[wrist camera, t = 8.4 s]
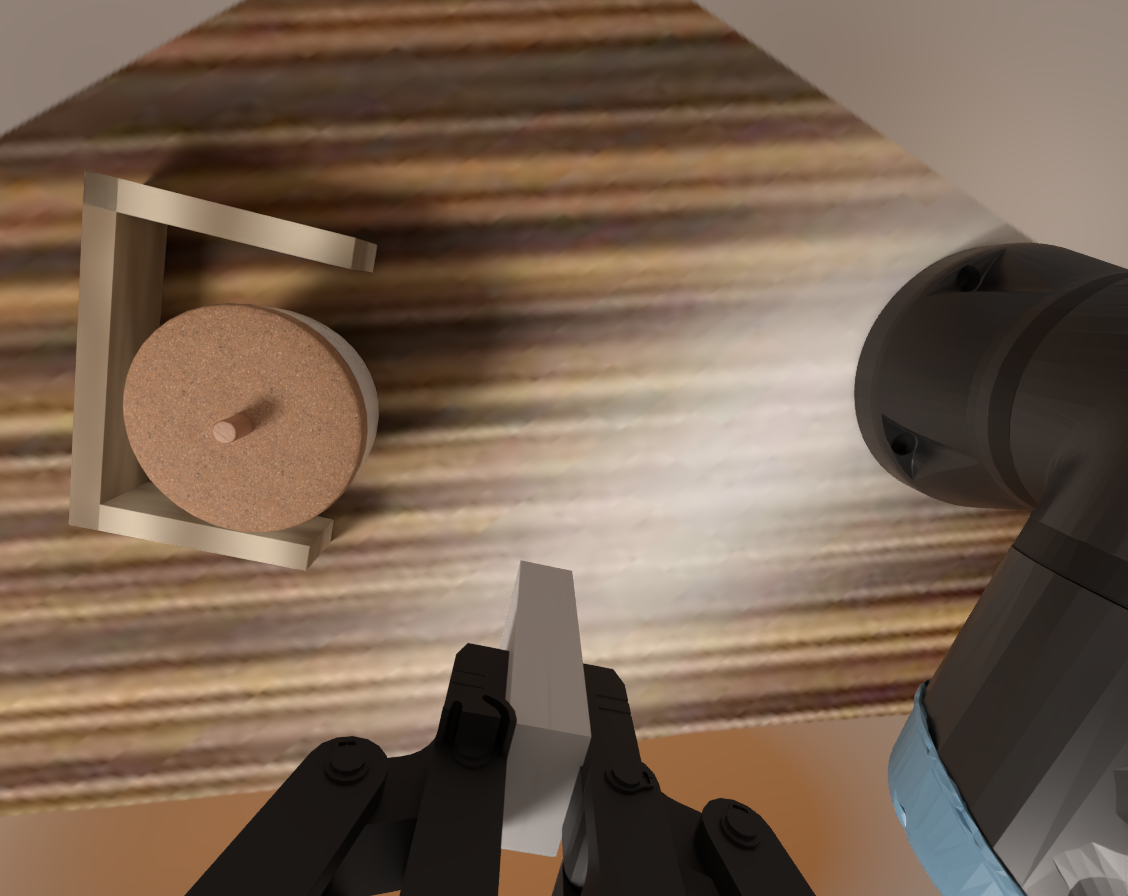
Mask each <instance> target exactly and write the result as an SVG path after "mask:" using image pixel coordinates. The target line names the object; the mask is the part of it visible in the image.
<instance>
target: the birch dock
mask: <svg viewBox="0 0 1128 896" xmlns="http://www.w3.org/2000/svg"><path fill="white" fill-rule="evenodd" d="M168 225H172V226H176V227H180V228H184V229H189V230H193V231H197V232H201V233H205V234H209V235H213V236H217V237H221V238H225V239H229V240H233V241H237V242H242V243H246V244H250V245H254V246H258V247H262V248H266V249H270V250H274V251H278V252H282V253H286V254H290V255H295V256H299V257H303V258H307V259H311V260H315V261H319V262H323V263H327V264H331V265H335V266H339V267H343V268H348V269H352V270H359V271H366V272H372V273H373V269H374V263H375V257H376V250H377V245H376V244H373V243H370V242H367V241H364V240H360V239H357V238H354V237H350V236H346V235H342V234H338V233H334V232H330V231H326V230H322V229H318V228H314V227H310V226H306V225H302V224H298V223H294V222H290V221H286V220H282V219H278V218H274V217H270V216H266V215H262V214H258V213H254V212H250V211H246V210H242V209H238V208H234V207H230V206H226V205H222V204H218V203H214V202H210V201H206V200H202V199H198V198H194V197H190V196H186V195H182V194H178V193H174V192H170V191H166V190H162V189H158V188H154V187H150V186H146V185H142V184H138V183H134V182H130V181H126V180H122V179H118V178H114V177H110V176H106V175H102V174H98V173H94V172H90V171H86V170H85V172H84V194H83V217H82V240H81V263H80V285H79V308H78V331H77V353H76V376H75V399H74V422H73V444H72V467H71V490H70V512H69V525H73V526H79V527H84V528H89V529H94V530H99V531H104V532H109V533H115V534H120V535H125V536H130V537H135V538H140V539H145V540H151V541H156V542H161V543H166V544H171V545H176V546H181V547H187V548H192V549H197V550H202V551H207V552H212V553H217V554H223V555H228V556H233V557H238V558H243V559H248V560H253V561H258V562H264V563H269V564H274V565H279V566H284V567H289V568H294V569H300V570H305V571H306V570H307V569H308V568H309V567H310V565H311V564H312V563H313V562H314V561H315V560H316V558H317V557H318V556H319V555H320V554H321V552H322V551H323V550H324V549H325V548H326V547H327V545H328V544H329V543H330V542H331V536H332V530H333V523H334V520H333V519H328V518H323V517H318V516H316V517H315V518H313V519H311V520H309V521H307V522H304V523H302V524H300V525H298V526H294V527H291V528H287V529H284V530H279V531H271V532H243V531H237V530H231V529H227V528H223V527H220V526H217V525H213V524H210V523H208V522H206V521H204V520H202V519H200V518H197V517H195V516H193V515H192V514H190V513H188V512H187V511H185V510H184V509H182V508H180V507H179V506H177V505H176V504H175V503H174V502H172V501H171V500H170V499H169V498H168V497H167V496H165V495H164V494H163V493H162V492H161V491H160V490H159V489H158V488H157V486H156V485H155V484H154V483H152V482H148V476H147V474H146V473H145V471H144V470H143V468H142V467H141V465H140V464H139V462H138V460H137V458H136V456H135V454H134V452H133V450H132V448H131V445H130V442H129V438H128V435H127V431H126V427H125V421H124V414H123V394H124V388H125V383H126V378H127V374H128V371H129V369H130V366H131V364H132V361H133V359H134V357H135V355H136V354H137V352H138V351H139V349H140V347H141V346H142V344H143V343H144V342H145V341H146V340H147V339H148V338H149V336H150V335H151V334H152V333H153V332H154V331H155V330H156V329H158V328H159V327H160V320H161V307H162V294H163V280H164V267H165V254H166V241H167V228H168Z"/></svg>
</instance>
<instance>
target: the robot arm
mask: <svg viewBox="0 0 1128 896" xmlns="http://www.w3.org/2000/svg"><path fill="white" fill-rule="evenodd" d="M854 398H855V410H856V416H857V421H858V424H859V428H860V431H861V434H862V436H863V439H864V441H865V443H866V445H867V447H868V448H869V450H870V452H871V453H872V455H873V456H874V457H875V459H876V460H877V461H878V462H879V464H880V465H881V466H882V467H883V468H884V469H885V470H886V471H887V472H888V473H890V474H891V475H892V476H893V477H895V478H896V479H898V480H899V481H901V482H902V483H904V484H906V485H908V486H910V487H912V488H914V489H916V490H918V491H920V492H922V493H924V494H926V495H928V496H930V497H932V498H935V499H937V500H940V501H943V502H947V503H951V504H954V505H960V506H966V507H977V508H994V509H1011V510H1028V511H1032V513H1031V515H1030V517H1029V519H1028V521H1027V522H1026V524H1025V526H1024V527H1023V529H1022V531H1021V532H1020V534H1019V536H1018V537H1017V539H1016V541H1015V542H1014V543H1013V545H1011V547H1010V549H1009V550H1008V552H1007V554H1006V555H1005V557H1004V559H1003V560H1002V562H1001V564H1000V565H999V567H998V569H997V570H996V572H995V574H994V575H993V577H992V579H991V580H990V582H989V584H988V585H987V587H986V589H985V590H984V592H983V594H982V595H981V597H980V599H979V600H978V602H977V604H976V605H975V607H974V609H973V610H972V612H971V614H970V615H969V617H968V619H967V620H966V622H965V624H964V625H963V627H962V629H961V630H960V632H959V634H958V635H957V637H956V639H955V640H954V642H953V644H952V645H951V647H950V649H949V650H948V652H947V654H946V655H945V657H944V659H943V660H942V662H941V664H940V665H939V667H938V669H937V670H936V672H935V674H934V675H933V677H932V679H929V680H927V681H926V682H925V683H923V684H921V685H920V686H919V688H918V689H917V691H916V694H915V696H914V708H913V710H912V712H911V714H910V716H909V718H908V720H907V721H906V723H905V725H904V727H903V729H902V731H901V733H900V735H899V737H898V739H897V741H896V743H895V745H894V747H893V749H892V752H891V755H890V758H889V765H888V784H889V791H890V795H891V800H892V803H893V805H894V808H895V811H896V815H897V817H898V819H899V821H900V822H901V824H902V826H903V828H904V829H905V831H906V835H907V840H908V842H909V843H910V846H911V847H912V850H913V852H914V853H915V855H916V857H917V858H918V860H919V862H920V863H921V865H922V867H923V868H924V870H925V871H926V872H927V874H928V876H929V877H930V879H931V880H932V882H933V883H934V885H935V886H936V888H937V889H938V890H939V892H940V893H941V895H942V896H1128V269H1125V268H1122V267H1119V266H1116V265H1113V264H1110V263H1107V262H1105V261H1102V260H1099V259H1096V258H1092V257H1089V256H1087V255H1084V254H1081V253H1078V252H1074V251H1072V250H1069V249H1066V248H1062V247H1058V246H1053V245H1047V244H1039V243H1013V244H1004V245H995V246H986V247H979V248H974V249H970V250H966V251H963V252H960V253H957V254H954V255H951V256H949V257H947V258H944V259H942V260H940V261H939V262H937V263H935V264H933V265H931V266H930V267H928V268H926V269H925V270H923V271H922V272H921V273H919V274H918V275H916V276H915V277H914V278H913V279H911V280H910V281H909V282H908V283H907V284H906V285H905V286H903V287H902V288H901V289H900V290H899V291H898V292H897V293H896V294H895V295H894V297H893V298H892V299H891V300H890V301H889V303H888V304H887V305H886V306H885V308H884V309H883V310H882V312H881V313H880V315H879V316H878V318H877V319H876V321H875V323H874V325H873V326H872V328H871V330H870V332H869V334H868V336H867V338H866V341H865V343H864V346H863V348H862V351H861V355H860V358H859V362H858V366H857V371H856V377H855V390H854ZM630 715H631V712H630V707H629V703H628V698H627V693H626V689H625V684H624V683H623V682H622V680H621V679H620V678H619V676H618V675H617V674H616V672H615V671H614V670H613V669H610V668H604V667H599V666H594V665H589V664H583V661H582V652H581V644H580V635H579V626H578V618H577V609H576V601H575V592H574V583H573V575H572V571H569V570H565V569H560V568H555V567H550V566H545V565H540V564H536V563H531V562H526V561H520V566H519V570H518V574H517V578H516V582H515V586H514V590H513V594H512V598H511V602H510V607H509V611H508V615H507V619H506V623H505V627H504V631H503V635H502V639H501V643H500V649H497V648H491V647H486V646H481V645H476V644H470V643H468V644H466V645H465V646H464V647H463V648H462V649H461V650H460V651H459V652H458V653H457V654H456V657H455V662H454V666H453V670H452V674H451V679H450V683H449V687H448V691H447V696H446V700H445V704H444V707H443V710H442V714H441V719H440V723H439V727H438V732H437V735H436V737H435V739H434V740H433V741H432V742H431V743H430V744H429V745H428V746H427V747H425V748H424V749H422V750H421V751H418V752H416V753H413V754H411V755H406V756H400V757H391V758H387V756H386V754H385V753H384V752H383V750H382V749H381V748H380V746H378V745H377V744H375V743H373V742H371V741H370V740H368V739H364V738H359V737H354V736H350V737H337V738H335V739H332V740H329V741H327V742H324V743H322V744H321V745H319V746H318V747H317V748H316V749H314V750H313V751H312V752H311V753H310V754H309V755H308V756H307V757H306V758H305V759H304V761H303V762H302V763H301V764H300V765H299V766H298V767H297V769H296V770H295V771H294V772H293V773H292V774H291V775H290V776H289V778H288V779H287V780H286V781H285V782H284V783H283V784H282V786H281V787H280V788H279V789H278V790H277V791H276V792H275V794H274V795H273V796H272V797H271V798H270V799H269V800H268V801H267V803H266V804H265V805H264V806H263V807H262V808H261V809H260V811H259V812H258V813H257V814H256V815H255V816H254V817H253V818H252V820H251V821H250V822H249V823H248V824H247V825H246V826H245V828H244V829H243V830H242V831H241V832H240V833H239V834H238V835H237V837H236V838H235V839H234V840H233V841H232V842H231V843H230V845H229V846H228V847H227V848H226V849H225V850H224V852H223V853H222V854H221V855H220V856H219V857H218V858H217V859H216V861H215V862H214V863H213V864H212V865H211V866H210V867H209V868H208V870H207V871H206V872H205V873H204V874H203V875H202V876H201V877H200V879H199V880H198V881H197V882H196V883H195V884H194V885H193V887H192V888H191V889H190V890H189V891H188V892H187V893H186V895H185V896H372V895H377V894H382V893H388V892H393V891H398V890H401V892H400V896H498V886H499V872H500V856H501V849H508V850H513V851H520V852H526V853H532V854H539V855H546V856H552V857H556V854H557V851H558V847H559V844H560V841H561V837H562V845H563V860H562V863H561V866H560V870H559V873H558V876H557V879H556V883H555V886H554V890H553V893H552V896H816V895H815V894H814V892H813V891H812V889H811V888H810V886H809V885H808V883H807V882H806V880H805V879H804V877H803V876H802V874H801V873H800V871H799V870H798V868H797V867H796V865H795V864H794V862H793V861H792V859H791V858H790V856H789V855H788V853H787V852H786V850H785V849H784V847H783V846H782V845H781V843H780V841H779V840H778V838H777V837H776V835H775V834H774V832H773V831H772V829H771V828H770V826H769V825H768V824H767V823H766V822H765V821H764V819H762V817H761V816H760V815H759V814H757V813H756V812H755V811H753V810H752V809H751V808H749V807H748V806H746V805H744V804H741V803H739V802H737V801H735V800H731V799H723V798H719V799H715V800H711V801H709V802H708V803H707V805H706V806H705V807H704V808H703V811H702V813H701V812H699V811H696V810H694V809H692V808H690V807H688V806H685V805H683V804H681V803H679V802H677V801H675V800H673V799H671V798H669V797H668V796H666V795H665V794H664V793H662V792H661V790H660V786H659V783H658V781H657V779H656V777H655V774H654V773H653V772H652V771H651V770H650V769H649V768H648V767H647V766H646V764H644V763H643V762H641V758H640V753H639V748H638V744H637V739H636V735H635V730H634V725H633V721H632V716H630Z"/></svg>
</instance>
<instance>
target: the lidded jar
mask: <svg viewBox="0 0 1128 896" xmlns="http://www.w3.org/2000/svg"><path fill="white" fill-rule="evenodd" d="M123 414H124V421H125V427H126V431H127V435H128V438H129V442H130V445H131V448H132V450H133V452H134V454H135V456H136V458H137V460H138V462H139V464H140V465H141V467H142V468H143V470H144V471H145V473H146V474H147V476H148V477H149V479H150V480H151V481H152V482H153V483H154V484H155V485H156V486H157V488H158V489H159V490H160V491H161V492H162V493H163V494H164V495H165V496H167V497H168V498H169V499H170V500H171V501H172V502H174V503H175V504H176V505H177V506H179V507H180V508H182V509H184V510H185V511H187V512H188V513H190V514H192V515H193V516H195V517H197V518H200V519H202V520H204V521H206V522H208V523H210V524H213V525H217V526H220V527H223V528H227V529H231V530H237V531H243V532H271V531H279V530H284V529H287V528H291V527H294V526H298V525H300V524H302V523H304V522H307V521H309V520H311V519H313V518H315V517H316V516H318V515H319V514H321V513H322V512H323V511H325V510H326V509H328V508H329V507H330V506H331V505H332V504H333V503H334V502H335V501H336V500H337V499H338V498H339V497H340V496H341V495H342V494H343V493H344V492H345V490H346V489H347V488H348V486H349V485H350V484H351V482H352V481H353V479H354V478H355V476H356V475H357V474H358V472H359V471H360V470H361V468H362V467H363V465H364V463H365V461H366V459H367V457H368V455H369V453H370V451H371V449H372V447H373V444H374V440H375V437H376V433H377V426H378V418H379V409H378V398H377V393H376V388H375V385H374V382H373V380H372V377H371V374H370V372H369V370H368V369H367V367H366V365H365V363H364V361H363V360H362V358H361V357H360V356H359V355H358V353H357V352H356V351H355V349H354V348H353V347H352V346H351V345H350V344H349V343H348V342H347V341H346V340H345V339H344V338H343V337H341V336H340V335H339V334H337V333H336V332H334V331H333V330H332V329H330V328H329V327H327V326H325V325H324V324H322V323H320V322H318V321H316V320H314V319H312V318H310V317H307V316H304V315H302V314H299V313H296V312H292V311H289V310H284V309H279V308H274V307H263V306H256V305H251V304H231V303H226V304H216V305H208V306H202V307H199V308H196V309H192V310H189V311H186V312H184V313H182V314H180V315H178V316H176V317H174V318H172V319H170V320H168V321H167V322H166V323H164V324H163V325H162V326H160V327H159V328H158V329H156V330H155V331H154V332H153V333H152V334H151V335H150V336H149V338H148V339H147V340H146V341H145V342H144V343H143V344H142V346H141V347H140V349H139V351H138V352H137V354H136V355H135V357H134V359H133V361H132V364H131V366H130V369H129V371H128V374H127V378H126V383H125V388H124V394H123Z"/></svg>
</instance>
